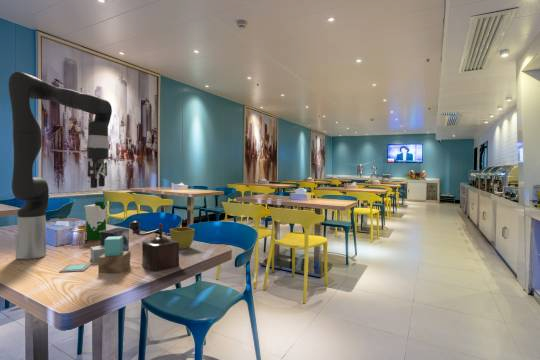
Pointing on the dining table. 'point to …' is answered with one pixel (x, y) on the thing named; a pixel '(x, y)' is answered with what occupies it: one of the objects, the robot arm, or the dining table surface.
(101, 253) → the grey block
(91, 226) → the milk carton
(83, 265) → the tile
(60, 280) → the dining table surface
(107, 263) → the walnut base
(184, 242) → the flower pot
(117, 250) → the teal block
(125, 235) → the small box
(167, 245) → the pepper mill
